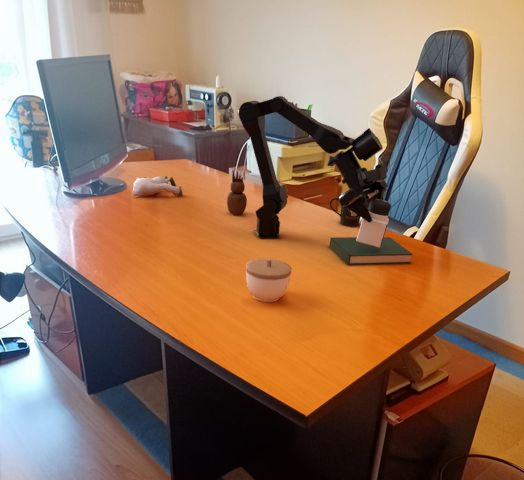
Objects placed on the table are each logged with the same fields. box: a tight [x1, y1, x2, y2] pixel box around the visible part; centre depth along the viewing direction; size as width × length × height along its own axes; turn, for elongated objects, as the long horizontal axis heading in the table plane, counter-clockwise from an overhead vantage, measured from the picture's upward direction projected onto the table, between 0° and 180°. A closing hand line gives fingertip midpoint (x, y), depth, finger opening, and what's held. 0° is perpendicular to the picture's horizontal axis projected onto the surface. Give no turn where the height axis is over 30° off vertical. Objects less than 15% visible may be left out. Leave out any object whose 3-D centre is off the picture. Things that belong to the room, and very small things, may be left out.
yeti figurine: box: [132, 175, 183, 197], centre depth 197 cm, size 20×7×20 cm
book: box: [328, 236, 413, 266], centre depth 156 cm, size 20×15×3 cm
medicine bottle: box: [356, 199, 392, 247], centre depth 149 cm, size 7×7×12 cm
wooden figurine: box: [226, 169, 248, 216], centre depth 179 cm, size 7×6×15 cm
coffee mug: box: [329, 191, 367, 228], centre depth 181 cm, size 12×9×10 cm
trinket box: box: [245, 258, 293, 303], centre depth 123 cm, size 11×11×9 cm
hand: (378, 219), depth 148 cm, fingers closed on medicine bottle, 8 cm apart
